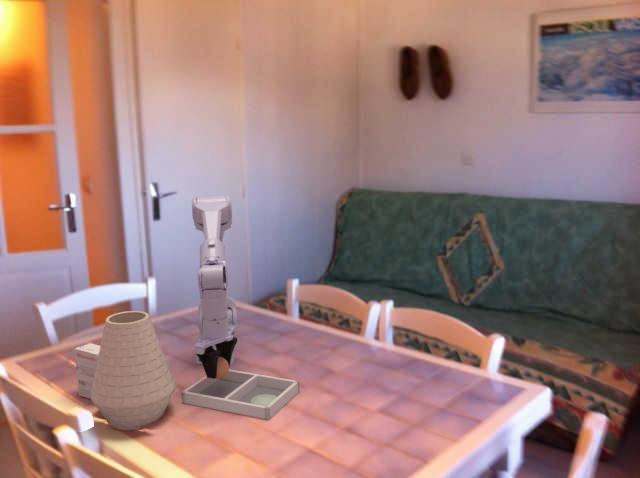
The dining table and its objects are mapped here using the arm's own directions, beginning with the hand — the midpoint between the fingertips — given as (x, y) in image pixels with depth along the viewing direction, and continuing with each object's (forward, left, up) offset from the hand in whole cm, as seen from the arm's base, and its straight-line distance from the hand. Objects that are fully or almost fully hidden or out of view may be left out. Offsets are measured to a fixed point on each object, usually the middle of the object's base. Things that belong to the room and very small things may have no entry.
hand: (218, 372), depth 150 cm
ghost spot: (+12, 0, -5) cm, 13 cm away
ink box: (-27, -10, -6) cm, 29 cm away
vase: (-11, -16, -6) cm, 20 cm away
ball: (0, 0, -1) cm, 1 cm away
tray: (+6, 0, -6) cm, 8 cm away
